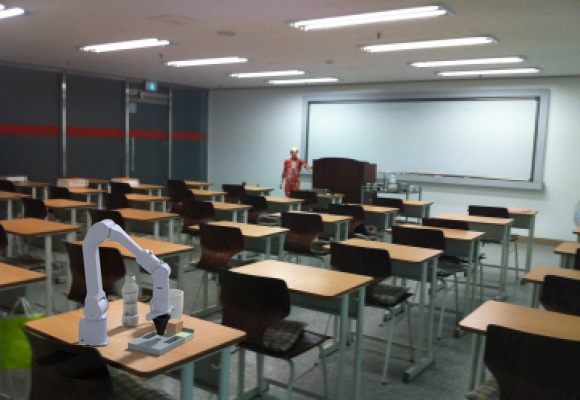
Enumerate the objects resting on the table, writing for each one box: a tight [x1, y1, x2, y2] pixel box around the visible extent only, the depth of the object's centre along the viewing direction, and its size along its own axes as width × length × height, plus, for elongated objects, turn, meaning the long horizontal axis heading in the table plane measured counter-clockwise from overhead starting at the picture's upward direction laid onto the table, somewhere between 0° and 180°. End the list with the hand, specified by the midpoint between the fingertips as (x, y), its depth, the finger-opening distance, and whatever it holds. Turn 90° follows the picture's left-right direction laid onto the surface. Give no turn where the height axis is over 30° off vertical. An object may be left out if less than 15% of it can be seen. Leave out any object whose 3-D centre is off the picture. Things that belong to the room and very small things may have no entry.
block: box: [166, 319, 184, 335], centre depth 199 cm, size 4×4×4 cm
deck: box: [127, 326, 195, 356], centre depth 193 cm, size 20×14×3 cm
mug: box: [149, 288, 184, 320], centre depth 214 cm, size 15×11×13 cm
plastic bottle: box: [121, 274, 140, 328], centre depth 210 cm, size 6×7×20 cm
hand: (160, 334), depth 193 cm, fingers closed
